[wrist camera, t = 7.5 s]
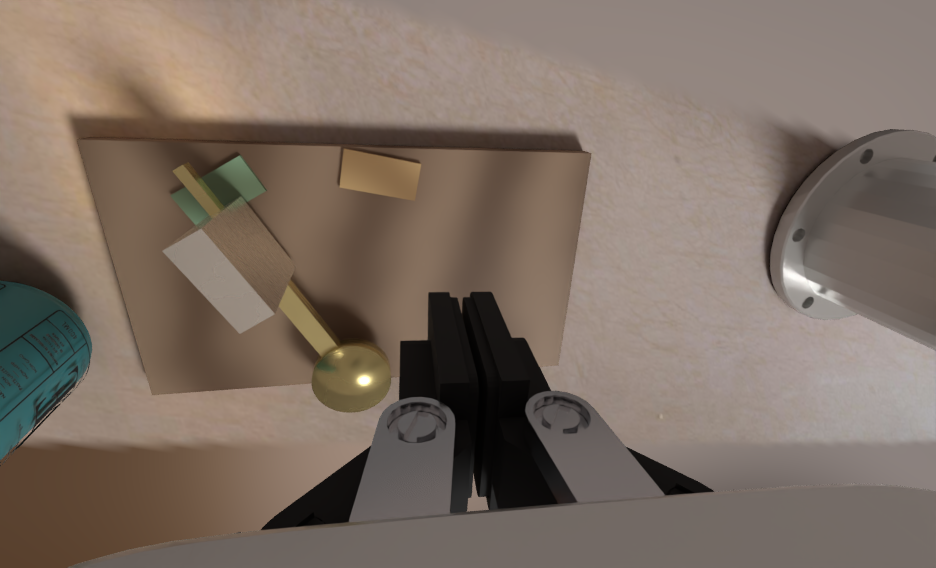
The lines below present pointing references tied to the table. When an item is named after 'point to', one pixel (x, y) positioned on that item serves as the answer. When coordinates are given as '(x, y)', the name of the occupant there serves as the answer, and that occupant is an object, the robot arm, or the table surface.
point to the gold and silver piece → (271, 295)
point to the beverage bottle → (36, 358)
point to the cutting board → (338, 245)
